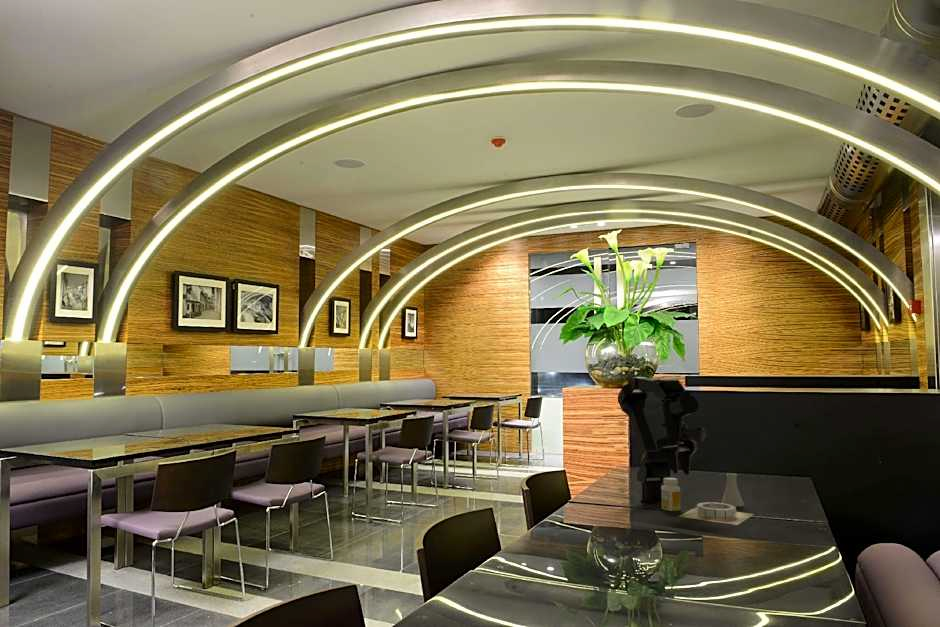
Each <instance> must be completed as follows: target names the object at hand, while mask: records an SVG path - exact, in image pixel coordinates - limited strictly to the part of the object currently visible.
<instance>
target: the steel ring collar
mask: <svg viewBox="0 0 940 627" xmlns="http://www.w3.org/2000/svg"><path fill="white" fill-rule="evenodd" d="M696 507H697V514H698V515H699V516H702V517H705V518H711V519H734V518H735V517H736V512H737V507H735V506H733V505H729V504H724V503H721V502H715V501H713V502H712V501H711V502H710V501H709V502H705V501H704V502H699V503H697V504H696Z"/></svg>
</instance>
